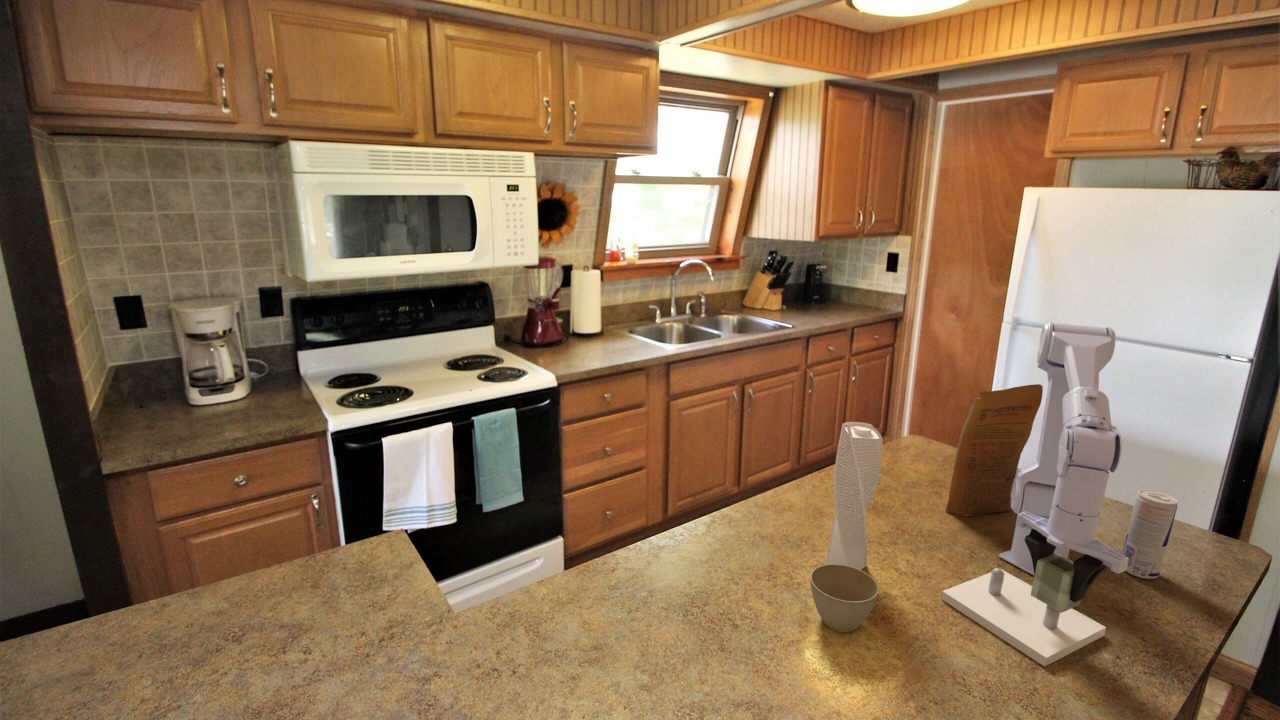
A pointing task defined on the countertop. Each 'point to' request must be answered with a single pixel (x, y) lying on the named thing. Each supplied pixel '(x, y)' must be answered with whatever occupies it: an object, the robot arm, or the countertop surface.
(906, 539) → the countertop surface
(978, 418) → the pancake mix bag
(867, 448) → the skyscraper
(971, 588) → the jig board
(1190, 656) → the countertop surface
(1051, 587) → the square socket block
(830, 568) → the flower pot
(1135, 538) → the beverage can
